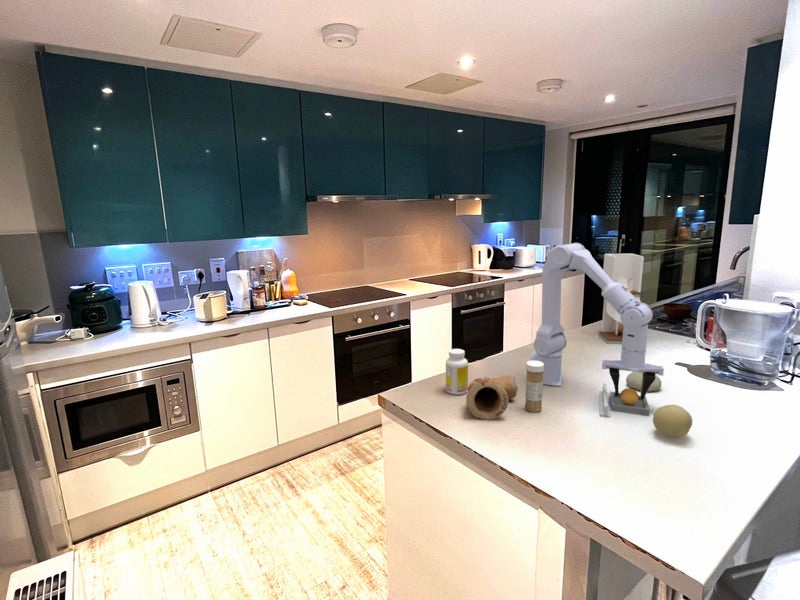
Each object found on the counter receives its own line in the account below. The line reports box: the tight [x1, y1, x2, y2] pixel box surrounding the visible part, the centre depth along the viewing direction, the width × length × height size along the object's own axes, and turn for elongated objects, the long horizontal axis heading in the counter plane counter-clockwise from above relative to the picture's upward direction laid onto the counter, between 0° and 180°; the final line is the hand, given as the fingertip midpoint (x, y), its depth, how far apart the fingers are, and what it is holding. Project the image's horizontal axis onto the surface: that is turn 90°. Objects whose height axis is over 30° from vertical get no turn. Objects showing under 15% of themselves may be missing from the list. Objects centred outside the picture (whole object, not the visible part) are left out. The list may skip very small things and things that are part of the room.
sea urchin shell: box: [625, 371, 663, 392], centre depth 129 cm, size 9×8×8 cm
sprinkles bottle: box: [524, 360, 544, 413], centre depth 116 cm, size 5×5×14 cm
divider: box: [598, 382, 611, 418], centre depth 119 cm, size 2×16×3 cm, turn 156°
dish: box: [609, 391, 651, 417], centre depth 117 cm, size 9×9×2 cm
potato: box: [652, 404, 693, 439], centre depth 101 cm, size 8×8×8 cm
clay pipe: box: [465, 374, 519, 421], centre depth 118 cm, size 19×11×15 cm
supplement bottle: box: [445, 348, 469, 396], centre depth 129 cm, size 7×7×13 cm
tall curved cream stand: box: [598, 253, 645, 345], centre depth 172 cm, size 11×11×35 cm
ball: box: [620, 387, 639, 405], centre depth 117 cm, size 4×4×4 cm
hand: (629, 395), depth 117 cm, fingers open, 6 cm apart
